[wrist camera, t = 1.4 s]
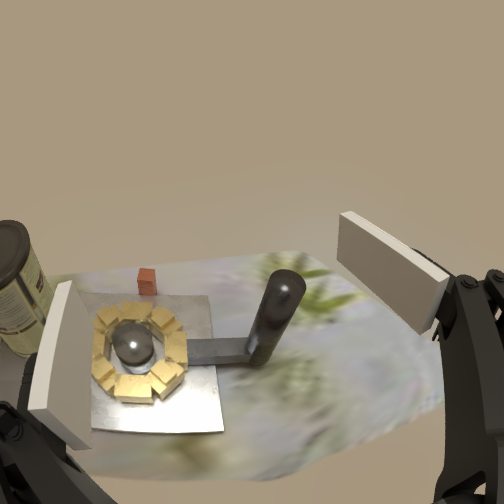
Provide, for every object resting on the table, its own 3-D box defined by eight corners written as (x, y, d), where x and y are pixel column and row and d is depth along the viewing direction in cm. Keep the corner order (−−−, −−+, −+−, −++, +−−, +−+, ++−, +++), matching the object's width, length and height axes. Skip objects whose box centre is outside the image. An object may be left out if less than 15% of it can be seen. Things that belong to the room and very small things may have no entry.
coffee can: (-1, 312, 29) (-44, 241, 19) (52, 285, 35) (22, 208, 26) (15, 371, 25) (-44, 305, 15) (75, 339, 31) (36, 262, 21)
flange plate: (65, 425, 23) (45, 412, 19) (84, 287, 36) (75, 260, 33) (222, 432, 27) (228, 422, 23) (206, 290, 41) (209, 263, 37)
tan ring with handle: (86, 398, 24) (35, 341, 15) (96, 311, 32) (69, 232, 23) (279, 396, 30) (325, 342, 21) (260, 313, 38) (288, 237, 29)
